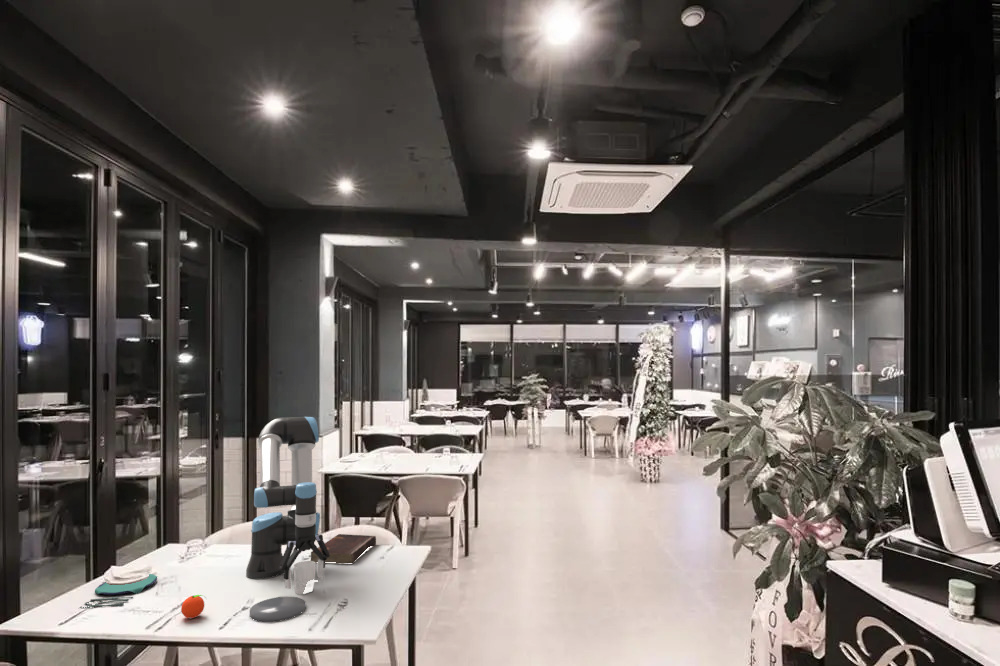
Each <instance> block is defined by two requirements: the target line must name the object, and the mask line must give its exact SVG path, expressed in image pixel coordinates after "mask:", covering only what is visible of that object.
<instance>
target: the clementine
mask: <svg viewBox="0 0 1000 666" xmlns="http://www.w3.org/2000/svg"><path fill="white" fill-rule="evenodd" d="M201 596H202V597H204V598H205V599H207V597H206V596H205V595H202V594H196V595H195V594H194V595H190V596H187V598H186V599H184V601H183V602H182V604H181V609H180V610H181V611H180V612H181V613H182V615H183V616H184V618H188V619H194V618H197V617H199V615H201V614H202V612H203V611H204V609H205V601H204V599H203V598H202V597H201Z"/></svg>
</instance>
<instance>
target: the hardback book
mask: <svg viewBox="0 0 1000 666" xmlns="http://www.w3.org/2000/svg"><path fill="white" fill-rule="evenodd" d="M324 543H325V545H326V548H327V550H328V552H329V554H330V556H329V557H327V560H326V561H325V562H336V563H353V562H354V561H355V560H356V559H357V558H358V557H359V556H360V555H361V554H362V553H363V552H364V551H365V550H366V549H367V548H368V547H370V546H374V547H375V546H376V544H377V536H376V535H361V534H347V533H346V534H344V533H343V534H342V533H339V534H337V535H335V536H334V537H332V538H330V539H329V540H327V541H326V542H324ZM317 548H318V549H319V550H320V551H321V549H320V547H319V546H318V547H317ZM321 553H322V551H321ZM322 554H323V553H322ZM318 560H320V558H319V557H318V556H317V555H316V554H315V553H314V552H313V550H311V552H310V561H314V562H318ZM354 563H355V562H354ZM354 563H353V564H354Z"/></svg>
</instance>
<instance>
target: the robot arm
mask: <svg viewBox="0 0 1000 666" xmlns="http://www.w3.org/2000/svg"><path fill="white" fill-rule="evenodd" d="M319 438H320V437H319V428H318V421H317V420H316V418H315V417H314V416H294V417H290V416H289V417H278V418H274V419H273V420H271V421H270V422H268V423H267V424H265V425H264V427H263V428H262V429H261V431H260V434H259V435H258V440H257V443H258V444H257V445H258V447H259V449H260V459H259V461H260V463H259V465H260V466H259V487H255V488H254V492H253V506H254V507H255V508H258V509H259V508H262V509H263V508H264V509H265V508H273V507H283V506H284V507H285V506H290V508H289V509H288V510H287V515H283V513H282V512H279V511H278V512H269V513H264V514H261V515H259V516H257V517H255V518H253V520H252V524H251V530H250V532H251V547H250V553H251V554H250V557H249V560H248V562H247V566H246V570H245V571H246V572H245V574H246V575H245V576H246V577H247V578H249V579H258V580H261V579H269V578H274V577H277V576H281V575H283V579H284V581H285V582H284V587H285V588H286V589H288V590H291V589H292V569H291V568H292V567H293V565H294V564H295V561H296V560H297V559H298V556H299V555H300V554H301V553H302V552H305V551H309V550H311V551H313V552H314V553H315V554H316V555H317V556H318V557H319V558H320V560H318V563H317V577H316V578H319V579H324V569H325V568H326V563H325V561H326V560H327V557H329V556H330V554H329V552H328V550H327V548H326V545H325V543H326V542H325V541H324V536H323V534H320V533H319V528H320V521H321V519H320V516H321V513H320V512H318V511H317V492H318V491H317V484H316V483H315V482H313V450H314V448H316V444H317V443H318V442H320V441H319V440H320V439H319ZM282 445H287V448H288V449H289V450H290V451H291V484H289V485H281V460H280V459H281V458H280V457H281V456H280V455H281V454H280V453H281V449H280V448H281V447H282ZM316 542H317V545H318V547H320V549H321V551H322V553H323V554H322V553H321V551H320V550H319V549H318V547H317V545H316V544H315V543H316ZM282 546H286V548H285V551H284V553H283V552H282V550H283V549H282Z"/></svg>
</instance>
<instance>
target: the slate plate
mask: <svg viewBox="0 0 1000 666" xmlns="http://www.w3.org/2000/svg"><path fill="white" fill-rule="evenodd" d="M306 605H307V604H306V601H305V599H303V598H301V597H299V596H298V597H297V596H277V597H272V598H267V599H265V600H262V601H259V602H257V603H255V604H254V605H252V606H251V607H250V609H249V618H250V617H251V618H252V619H251V618H250V619H251V620H253V619H254V620H253V621H255V620H257V621H256V622H259V621H262V622H261V623H273V621H276V622H281V621H280V620H282V621H286V620H290V619H293V618H295V617H297V616H299V615H301V614H302V613H303V612H304V611H305V610H306ZM304 609H305V610H304ZM301 612H302V613H301ZM300 613H301V614H300ZM294 616H295V617H294ZM292 617H293V618H292ZM289 618H290V619H289ZM285 619H286V620H285Z"/></svg>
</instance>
